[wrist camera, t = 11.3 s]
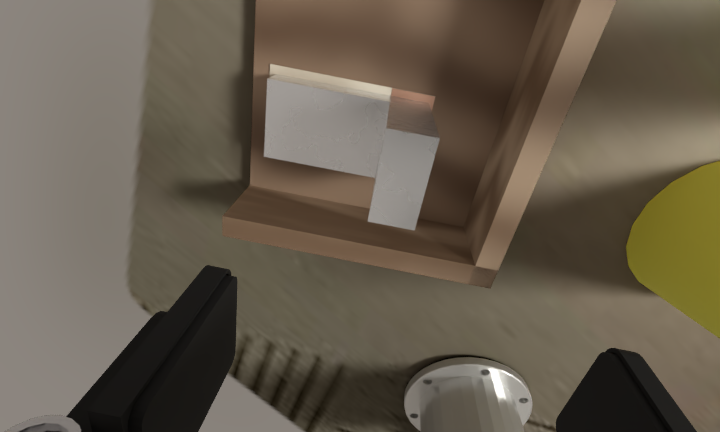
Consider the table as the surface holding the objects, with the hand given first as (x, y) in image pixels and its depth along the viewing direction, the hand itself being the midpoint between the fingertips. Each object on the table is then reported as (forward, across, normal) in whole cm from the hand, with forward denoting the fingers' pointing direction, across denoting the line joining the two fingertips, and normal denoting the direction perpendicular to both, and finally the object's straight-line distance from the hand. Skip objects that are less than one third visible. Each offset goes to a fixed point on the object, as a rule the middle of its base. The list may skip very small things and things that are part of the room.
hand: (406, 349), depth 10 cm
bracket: (+18, +4, -1) cm, 18 cm away
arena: (+19, +2, -5) cm, 20 cm away
